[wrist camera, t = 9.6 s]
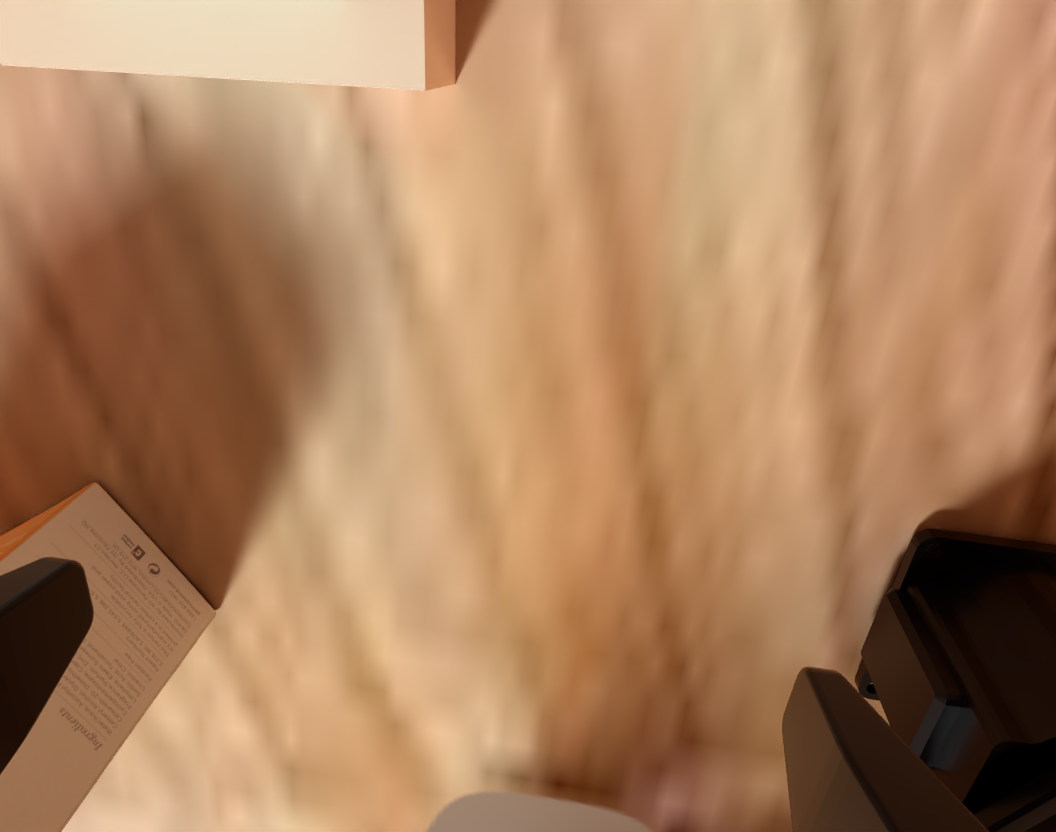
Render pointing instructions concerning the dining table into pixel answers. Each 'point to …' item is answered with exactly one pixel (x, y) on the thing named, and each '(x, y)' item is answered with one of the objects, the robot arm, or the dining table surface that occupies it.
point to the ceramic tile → (240, 39)
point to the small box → (97, 653)
